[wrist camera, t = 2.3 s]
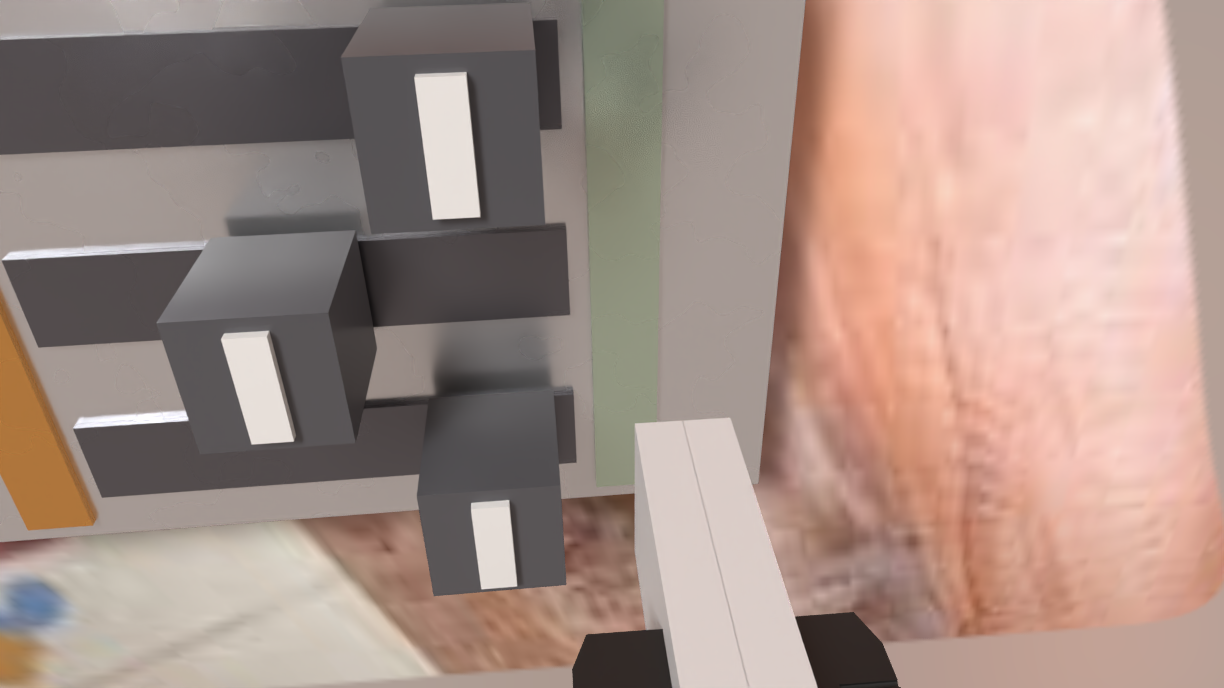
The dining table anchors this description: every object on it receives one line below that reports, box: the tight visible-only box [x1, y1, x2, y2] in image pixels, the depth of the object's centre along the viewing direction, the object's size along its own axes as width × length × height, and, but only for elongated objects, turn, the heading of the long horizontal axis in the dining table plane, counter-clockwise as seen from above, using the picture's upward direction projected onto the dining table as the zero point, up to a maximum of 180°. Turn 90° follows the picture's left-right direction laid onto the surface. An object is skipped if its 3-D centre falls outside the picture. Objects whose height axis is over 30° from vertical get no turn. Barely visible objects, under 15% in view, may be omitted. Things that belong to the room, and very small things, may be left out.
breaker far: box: [417, 390, 566, 596], centre depth 21 cm, size 3×3×4 cm
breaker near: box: [341, 2, 545, 234], centre depth 16 cm, size 3×3×4 cm
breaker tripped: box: [156, 230, 377, 454], centre depth 18 cm, size 3×3×4 cm
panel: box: [0, 0, 806, 542], centre depth 21 cm, size 22×14×2 cm, turn 91°
